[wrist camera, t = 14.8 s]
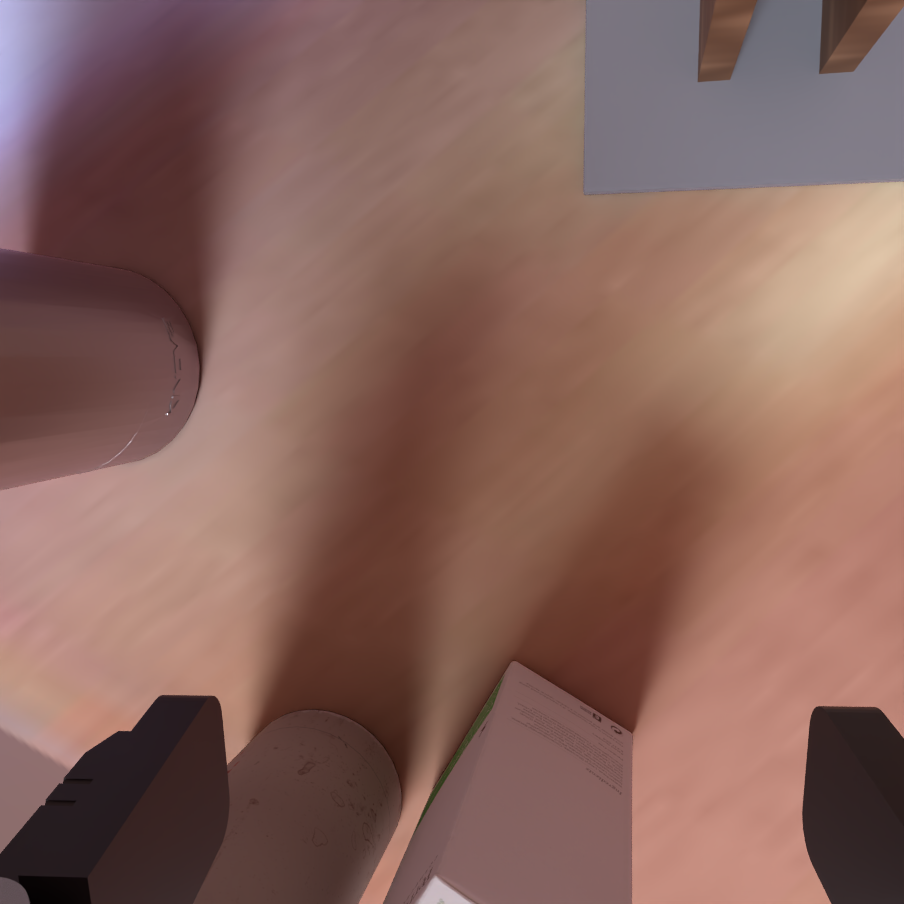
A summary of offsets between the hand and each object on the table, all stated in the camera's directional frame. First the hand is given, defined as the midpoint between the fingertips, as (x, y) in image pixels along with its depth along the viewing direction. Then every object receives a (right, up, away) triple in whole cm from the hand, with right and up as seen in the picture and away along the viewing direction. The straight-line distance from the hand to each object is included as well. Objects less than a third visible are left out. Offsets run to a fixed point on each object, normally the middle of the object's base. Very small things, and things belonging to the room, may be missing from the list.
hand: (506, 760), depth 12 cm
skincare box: (+3, -10, +27) cm, 29 cm away
